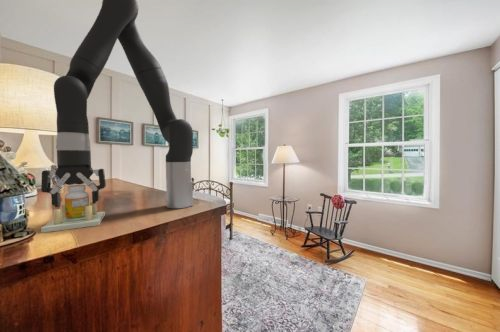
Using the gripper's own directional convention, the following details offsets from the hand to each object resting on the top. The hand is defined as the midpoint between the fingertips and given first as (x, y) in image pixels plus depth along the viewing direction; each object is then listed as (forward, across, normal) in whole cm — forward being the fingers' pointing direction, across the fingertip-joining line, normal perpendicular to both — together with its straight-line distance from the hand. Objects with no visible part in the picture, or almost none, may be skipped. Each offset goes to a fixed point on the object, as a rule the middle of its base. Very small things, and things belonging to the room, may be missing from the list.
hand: (76, 204), depth 61 cm
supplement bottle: (+4, 0, 0) cm, 4 cm away
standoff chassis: (+5, 0, 0) cm, 5 cm away
